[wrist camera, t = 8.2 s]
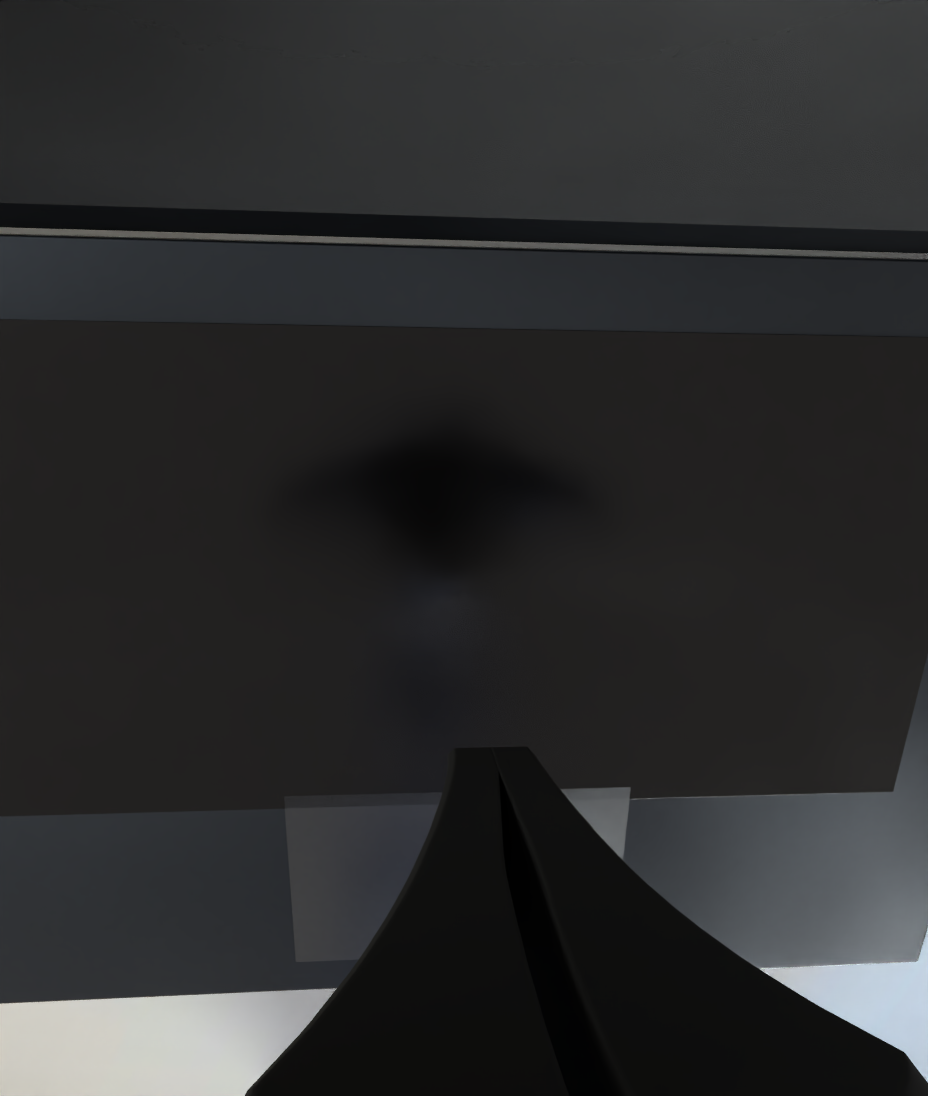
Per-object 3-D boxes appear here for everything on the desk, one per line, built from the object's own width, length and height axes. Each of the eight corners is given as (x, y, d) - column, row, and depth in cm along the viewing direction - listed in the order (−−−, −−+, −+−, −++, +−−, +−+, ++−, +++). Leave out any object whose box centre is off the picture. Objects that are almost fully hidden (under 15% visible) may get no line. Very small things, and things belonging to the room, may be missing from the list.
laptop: (883, 917, 24) (920, 965, 22) (-17, 954, 22) (-56, 1010, 20) (1052, 269, 18) (1124, 263, 16) (-199, 236, 16) (-279, 224, 14)
